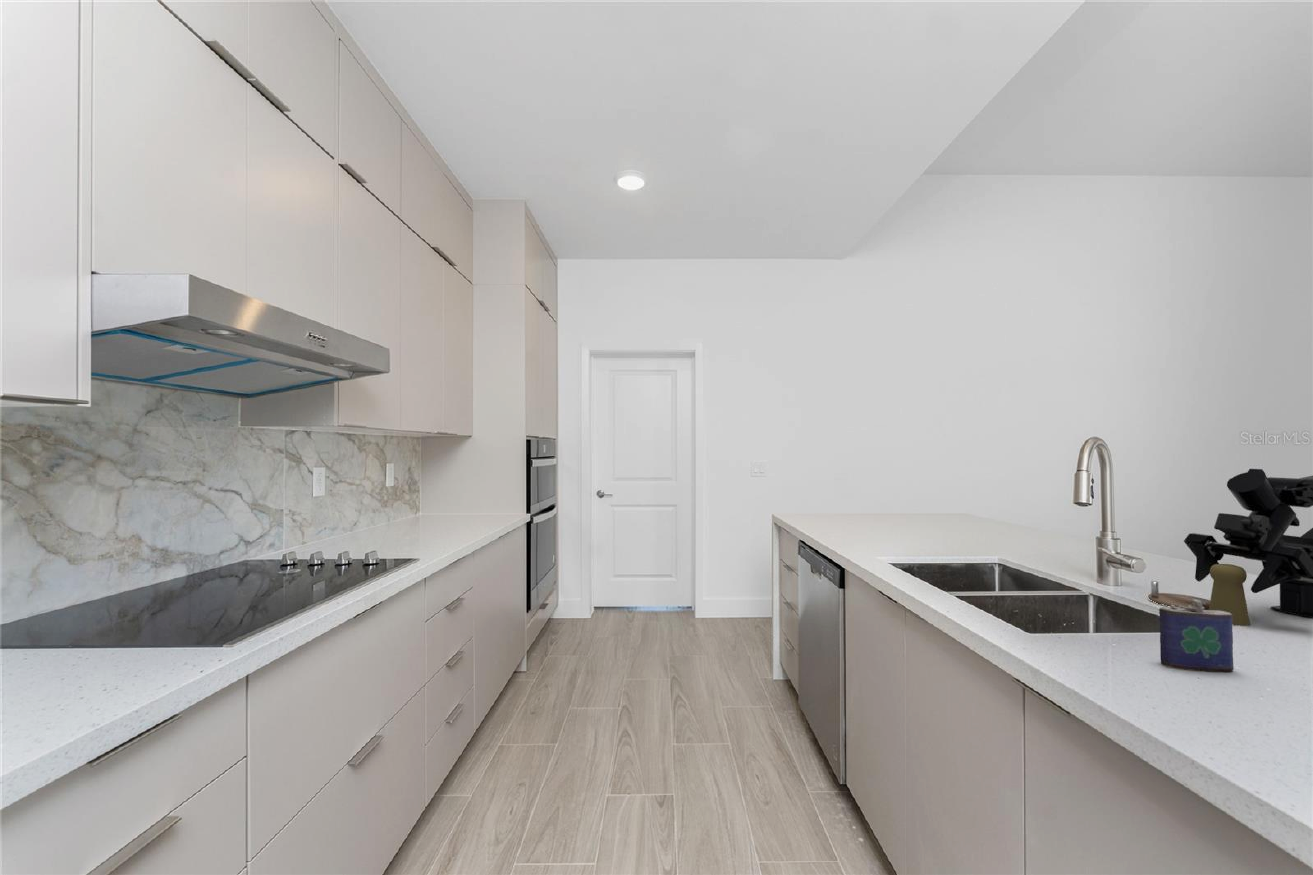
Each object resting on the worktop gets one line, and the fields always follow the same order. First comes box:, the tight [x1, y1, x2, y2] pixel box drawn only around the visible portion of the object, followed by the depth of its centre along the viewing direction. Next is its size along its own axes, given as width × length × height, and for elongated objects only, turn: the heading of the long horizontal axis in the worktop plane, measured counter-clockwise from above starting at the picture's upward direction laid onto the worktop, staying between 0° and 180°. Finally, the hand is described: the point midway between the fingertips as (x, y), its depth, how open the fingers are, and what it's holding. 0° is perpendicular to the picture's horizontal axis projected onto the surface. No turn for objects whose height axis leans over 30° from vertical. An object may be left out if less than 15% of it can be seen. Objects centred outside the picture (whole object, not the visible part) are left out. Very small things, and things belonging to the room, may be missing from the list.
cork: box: [1209, 563, 1251, 627], centre depth 114 cm, size 6×6×11 cm
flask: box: [1158, 599, 1235, 673], centre depth 91 cm, size 9×3×11 cm, turn 74°
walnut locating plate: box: [1147, 580, 1211, 610], centre depth 126 cm, size 11×11×4 cm
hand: (1224, 585), depth 114 cm, fingers open, 9 cm apart
